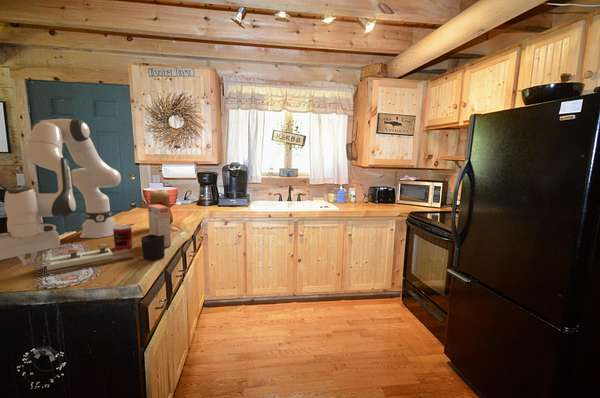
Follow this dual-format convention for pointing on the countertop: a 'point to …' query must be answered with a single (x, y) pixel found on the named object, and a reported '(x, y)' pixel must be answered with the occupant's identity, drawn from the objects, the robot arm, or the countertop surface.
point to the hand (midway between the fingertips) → (28, 264)
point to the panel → (77, 259)
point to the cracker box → (160, 222)
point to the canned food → (122, 237)
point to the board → (117, 257)
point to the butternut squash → (161, 200)
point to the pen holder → (153, 247)
